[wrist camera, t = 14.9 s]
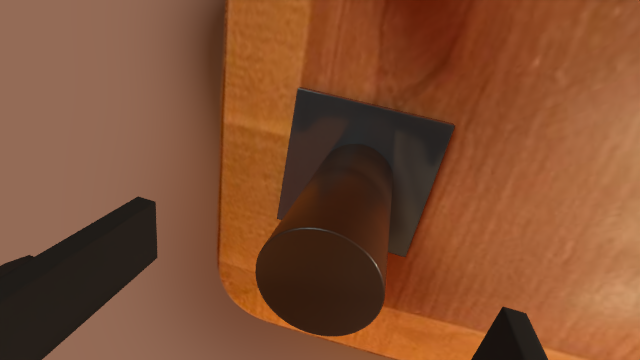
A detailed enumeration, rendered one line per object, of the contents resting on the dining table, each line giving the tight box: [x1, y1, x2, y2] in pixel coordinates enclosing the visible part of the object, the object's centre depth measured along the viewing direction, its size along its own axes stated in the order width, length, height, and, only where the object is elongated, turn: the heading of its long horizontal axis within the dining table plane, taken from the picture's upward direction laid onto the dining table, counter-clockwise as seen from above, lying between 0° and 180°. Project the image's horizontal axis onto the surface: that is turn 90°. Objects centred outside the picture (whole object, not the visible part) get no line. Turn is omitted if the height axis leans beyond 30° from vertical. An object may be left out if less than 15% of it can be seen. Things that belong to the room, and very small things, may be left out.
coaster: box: [277, 87, 455, 257], centre depth 22 cm, size 10×10×1 cm
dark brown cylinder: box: [256, 144, 393, 336], centre depth 17 cm, size 5×5×11 cm
